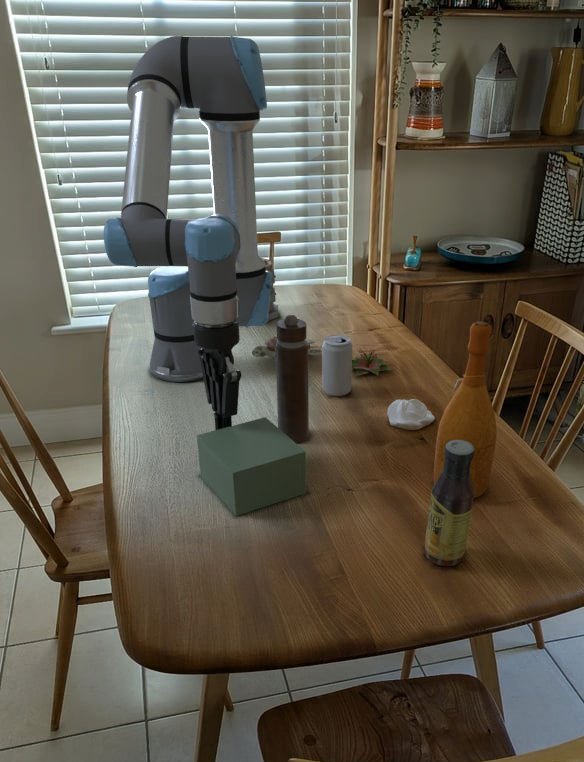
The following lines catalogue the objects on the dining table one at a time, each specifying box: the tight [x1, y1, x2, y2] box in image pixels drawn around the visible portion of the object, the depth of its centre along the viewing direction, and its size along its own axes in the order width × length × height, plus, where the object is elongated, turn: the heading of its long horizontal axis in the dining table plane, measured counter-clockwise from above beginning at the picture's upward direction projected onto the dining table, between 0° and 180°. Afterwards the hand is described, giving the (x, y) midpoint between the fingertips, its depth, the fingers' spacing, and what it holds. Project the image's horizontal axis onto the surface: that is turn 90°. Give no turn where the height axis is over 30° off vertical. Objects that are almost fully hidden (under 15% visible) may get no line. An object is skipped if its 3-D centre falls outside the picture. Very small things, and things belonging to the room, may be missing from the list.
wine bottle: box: [433, 321, 498, 499], centre depth 120 cm, size 10×10×30 cm
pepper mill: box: [275, 313, 310, 444], centre depth 136 cm, size 6×6×24 cm
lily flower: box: [352, 346, 393, 377], centre depth 169 cm, size 12×12×5 cm
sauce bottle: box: [424, 440, 475, 567], centre depth 107 cm, size 7×6×20 cm
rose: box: [387, 398, 436, 431], centre depth 148 cm, size 10×4×10 cm
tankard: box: [259, 256, 279, 322], centre depth 192 cm, size 20×13×15 cm, turn 6°
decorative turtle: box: [251, 335, 322, 361], centre depth 174 cm, size 18×17×5 cm
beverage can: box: [321, 334, 353, 397], centre depth 157 cm, size 6×6×12 cm
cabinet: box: [196, 416, 307, 517], centre depth 126 cm, size 14×13×8 cm
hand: (224, 444), depth 134 cm, fingers closed
